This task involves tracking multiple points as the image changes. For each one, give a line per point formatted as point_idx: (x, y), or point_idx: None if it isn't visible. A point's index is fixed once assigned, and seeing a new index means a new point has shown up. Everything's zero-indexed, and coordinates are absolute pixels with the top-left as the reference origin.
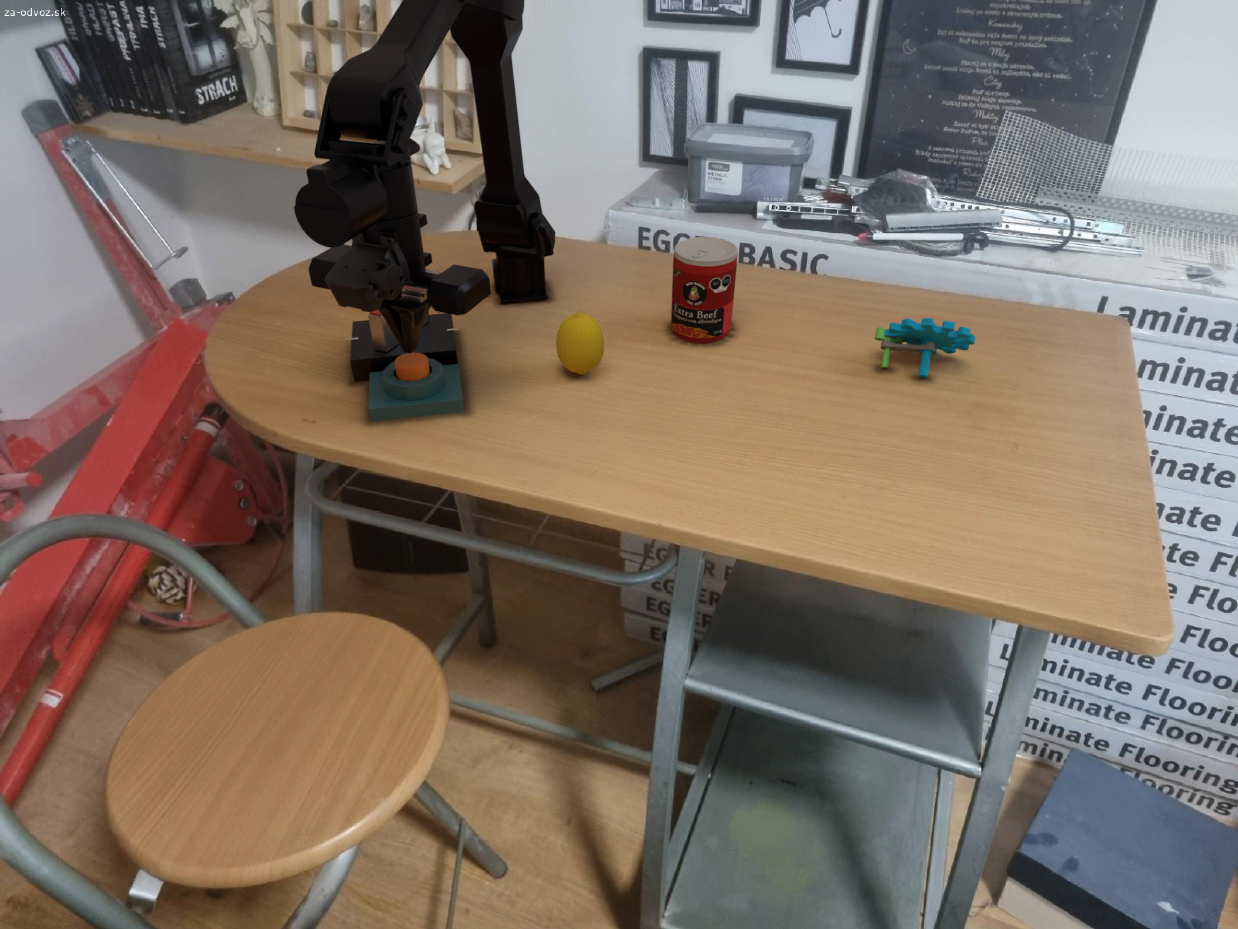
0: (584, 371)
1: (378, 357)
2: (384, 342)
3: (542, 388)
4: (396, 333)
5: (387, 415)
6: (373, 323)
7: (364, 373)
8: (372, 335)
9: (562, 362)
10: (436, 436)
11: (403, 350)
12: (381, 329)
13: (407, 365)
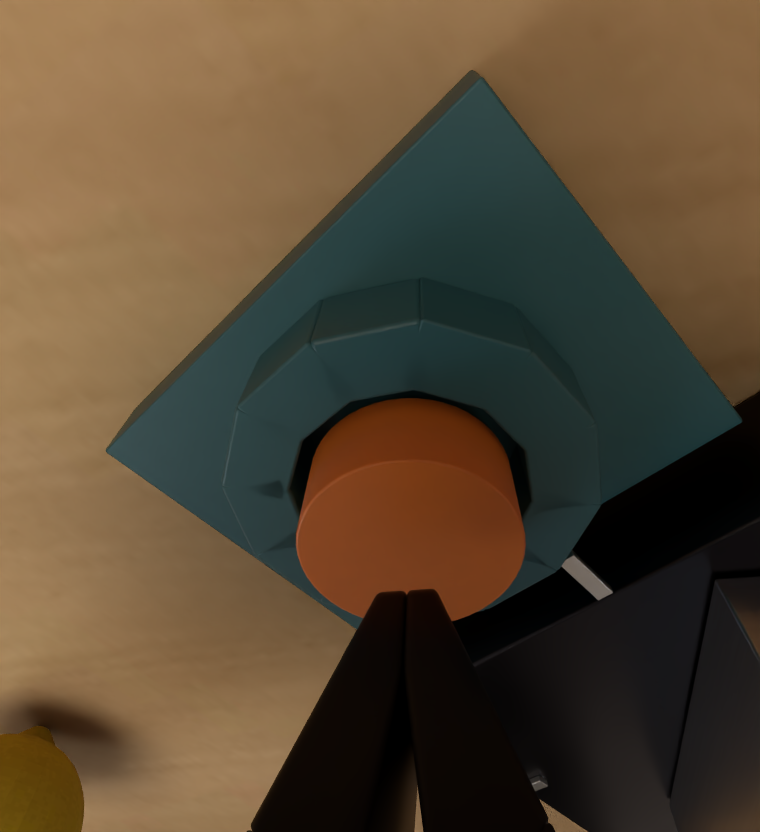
0: None
1: (740, 527)
2: (750, 631)
3: (60, 640)
4: (457, 744)
5: (390, 156)
6: None
7: None
8: None
9: (9, 764)
10: (46, 170)
11: (431, 597)
12: None
13: (380, 499)
